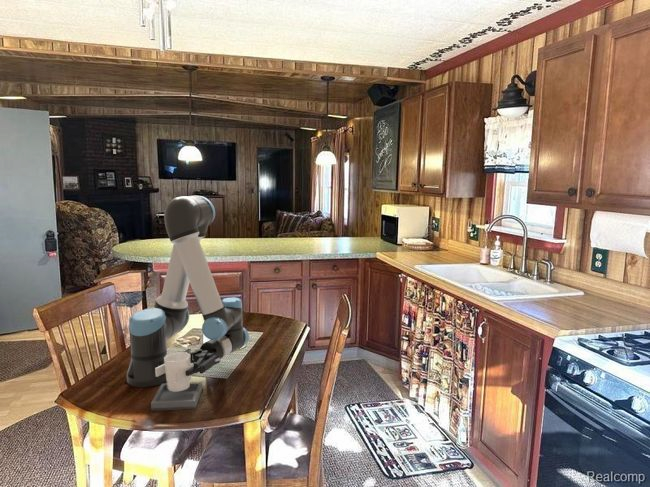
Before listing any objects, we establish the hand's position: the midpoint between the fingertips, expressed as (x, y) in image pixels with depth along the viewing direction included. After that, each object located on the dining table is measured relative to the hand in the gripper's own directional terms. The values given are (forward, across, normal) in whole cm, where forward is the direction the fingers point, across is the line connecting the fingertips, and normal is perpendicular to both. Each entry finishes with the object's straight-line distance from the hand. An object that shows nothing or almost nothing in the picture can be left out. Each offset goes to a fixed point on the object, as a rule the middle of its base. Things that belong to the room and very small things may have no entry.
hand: (166, 374), depth 137 cm
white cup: (-5, 0, -6) cm, 8 cm away
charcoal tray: (-5, 0, -10) cm, 11 cm away
